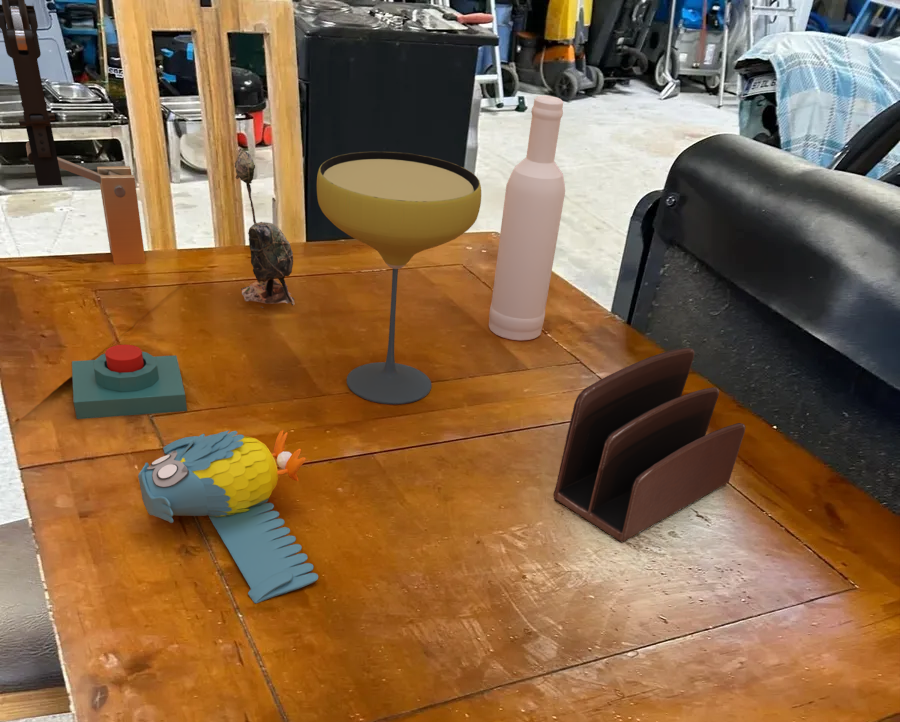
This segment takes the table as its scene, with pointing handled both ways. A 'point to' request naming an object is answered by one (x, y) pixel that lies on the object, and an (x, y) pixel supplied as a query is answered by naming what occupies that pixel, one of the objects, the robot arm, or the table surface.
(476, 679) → the table surface
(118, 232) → the bracket
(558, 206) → the bottle
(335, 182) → the cocktail glass
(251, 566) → the owl figurine
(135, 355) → the button
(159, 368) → the button block
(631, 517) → the letter holder
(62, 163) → the lever
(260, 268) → the stone bird sculpture
